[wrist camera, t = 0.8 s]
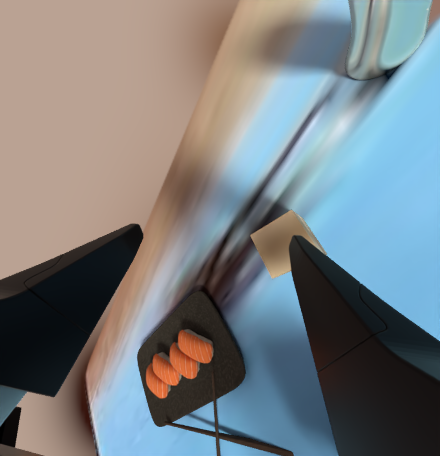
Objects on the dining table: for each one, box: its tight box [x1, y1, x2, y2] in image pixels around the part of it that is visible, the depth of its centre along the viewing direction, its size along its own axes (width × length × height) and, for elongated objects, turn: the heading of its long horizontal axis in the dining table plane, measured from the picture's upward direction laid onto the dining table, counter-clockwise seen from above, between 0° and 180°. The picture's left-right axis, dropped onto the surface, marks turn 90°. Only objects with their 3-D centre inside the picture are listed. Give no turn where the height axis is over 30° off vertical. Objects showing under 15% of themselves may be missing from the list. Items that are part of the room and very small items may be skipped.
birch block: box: [250, 210, 327, 279], centre depth 18 cm, size 5×5×6 cm
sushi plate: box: [137, 291, 294, 456], centre depth 26 cm, size 29×30×4 cm
